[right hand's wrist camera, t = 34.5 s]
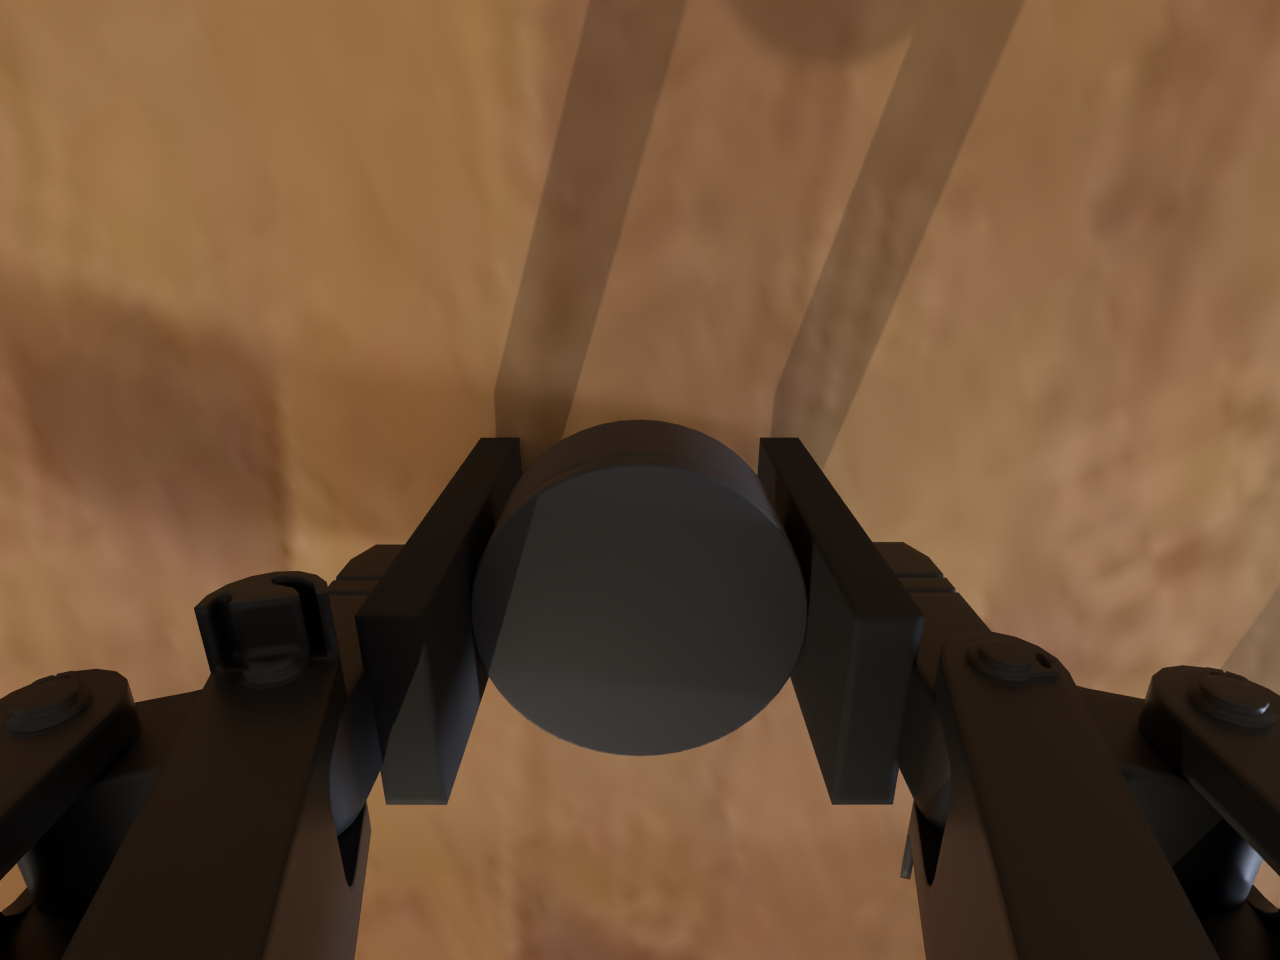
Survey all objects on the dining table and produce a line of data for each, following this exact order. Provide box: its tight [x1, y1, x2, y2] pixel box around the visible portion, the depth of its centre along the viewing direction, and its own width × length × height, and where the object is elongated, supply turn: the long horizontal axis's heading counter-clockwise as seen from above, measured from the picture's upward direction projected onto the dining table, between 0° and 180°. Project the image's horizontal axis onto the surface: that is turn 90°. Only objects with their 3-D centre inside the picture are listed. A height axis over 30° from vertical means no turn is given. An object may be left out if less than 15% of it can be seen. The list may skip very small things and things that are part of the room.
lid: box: [470, 420, 809, 756], centre depth 11 cm, size 5×5×2 cm
